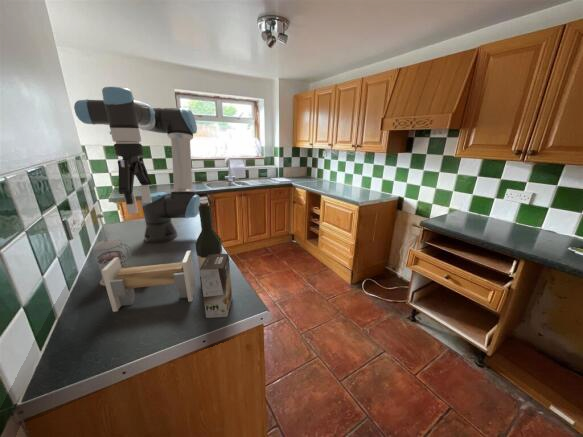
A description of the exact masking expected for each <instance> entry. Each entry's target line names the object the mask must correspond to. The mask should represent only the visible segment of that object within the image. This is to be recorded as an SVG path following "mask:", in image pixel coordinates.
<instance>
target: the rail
mask: <svg viewBox="0 0 583 437" xmlns="http://www.w3.org/2000/svg"><path fill="white" fill-rule="evenodd" d="M182 262H183V261H182ZM182 262H172V263H162V264H154V265H153V264H151V265H143V266H142V265H141V266H131V267H127V268H126V267H124V268H122V269H121V270H120V271H119V272H118V273H117V275H116V277H117V280H118V279H123V280H124V284H125V288H126V289H130V288H133V289H136V288H138V289H139V288H144V287H154V286H164V285H172V284H175V281H174V273H182V272H184V271H183V265H182Z"/></svg>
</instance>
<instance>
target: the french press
mask: <svg viewBox="0 0 583 437" xmlns="http://www.w3.org/2000/svg"><path fill="white" fill-rule="evenodd" d="M102 218H104V215H103V214H102V213H98V214H97V215H96V219H100V223H101V227H102V231H103V233H104V238H105V240H101V241H99V242H97V243H96V244H95V245H93V247H92V249H93V250H95V251H98V252H99V251H100V252H102V251H106V252H103V253H100V254H99V255H98V256H97V259H98V260H97V263H98V268H99V271H100V275H101V279H100V281H99V285H101V286H103V287H106V285H105V282H104V278H103V275H102V270H103V269H104V268H105V267H106V266H107V265H108V264H109V263H110V262H111V261H112V260H113V259H114V258H116V257H119V260H120V264H121V268H128V267H127V262H128V261H129V259H130V257H131V248H130V246H129V245H128V244H126V243H122V241H121V240H119V239H116V238H110V239H109V238H108V239H107V237H106V233H105V229H104V225H103V220H102ZM122 246H124V247H125V249H126V255H124V254H123V252H122V251H121V250H112V249H115V248H120V249H121V248H122ZM110 250H111V251H110ZM128 250H129V252H128ZM128 253H129V256H128ZM127 257H128V258H127Z"/></svg>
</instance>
